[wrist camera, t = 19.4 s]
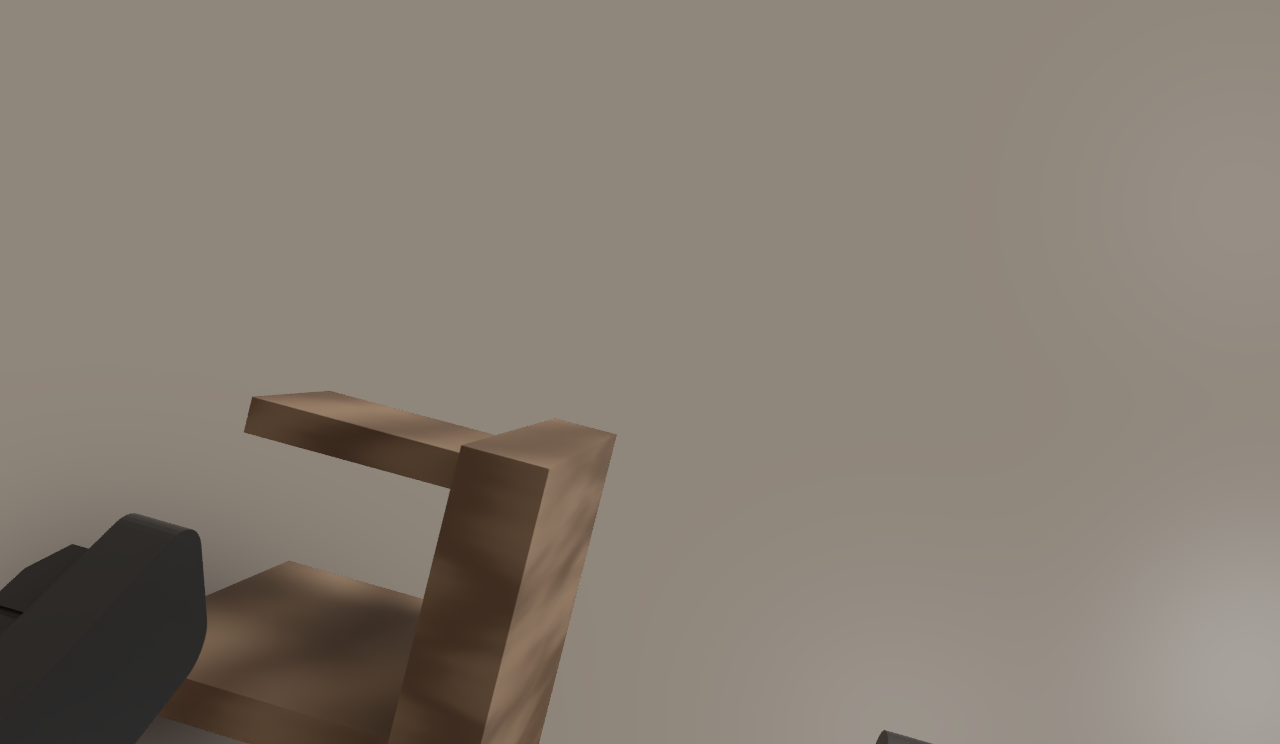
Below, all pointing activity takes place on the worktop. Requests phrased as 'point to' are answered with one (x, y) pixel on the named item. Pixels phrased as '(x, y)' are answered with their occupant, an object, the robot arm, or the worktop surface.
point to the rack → (399, 623)
